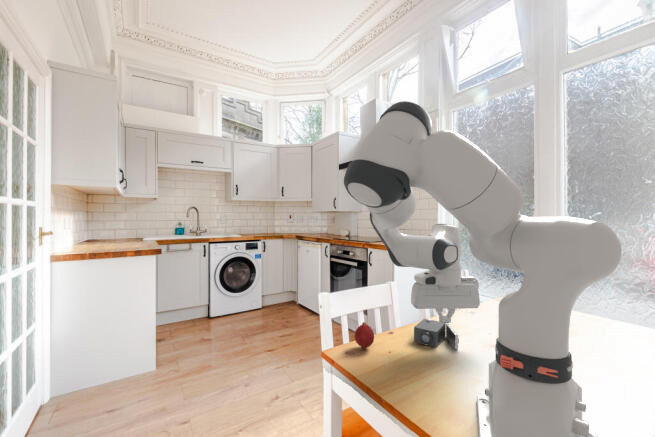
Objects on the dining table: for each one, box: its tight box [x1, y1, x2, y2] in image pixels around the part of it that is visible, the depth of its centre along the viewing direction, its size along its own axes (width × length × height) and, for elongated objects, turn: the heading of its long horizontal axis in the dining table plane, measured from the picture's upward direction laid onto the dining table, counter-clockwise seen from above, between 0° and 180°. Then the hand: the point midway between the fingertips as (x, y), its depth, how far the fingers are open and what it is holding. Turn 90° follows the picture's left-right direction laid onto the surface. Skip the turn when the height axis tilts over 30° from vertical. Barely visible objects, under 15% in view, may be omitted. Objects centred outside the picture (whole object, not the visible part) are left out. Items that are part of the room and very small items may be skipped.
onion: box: [354, 321, 375, 350], centre depth 87 cm, size 6×6×8 cm
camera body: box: [413, 318, 447, 348], centre depth 94 cm, size 12×7×5 cm, turn 144°
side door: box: [445, 323, 460, 350], centre depth 91 cm, size 10×1×4 cm, turn 174°
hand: (445, 322), depth 89 cm, fingers closed
